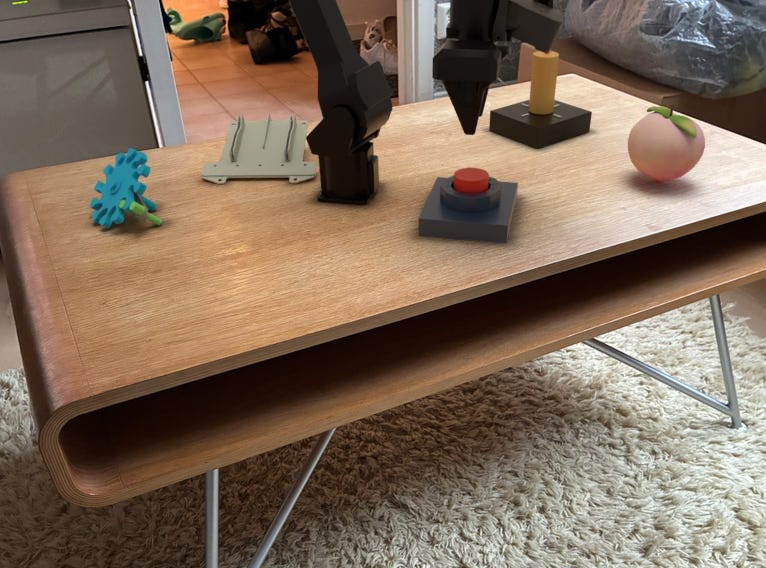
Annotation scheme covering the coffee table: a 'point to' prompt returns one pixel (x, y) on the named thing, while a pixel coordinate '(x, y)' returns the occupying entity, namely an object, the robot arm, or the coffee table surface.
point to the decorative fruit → (665, 144)
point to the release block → (469, 212)
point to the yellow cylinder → (543, 82)
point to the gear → (123, 191)
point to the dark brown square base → (540, 123)
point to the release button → (471, 180)
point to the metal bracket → (263, 151)
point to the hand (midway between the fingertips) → (473, 125)
